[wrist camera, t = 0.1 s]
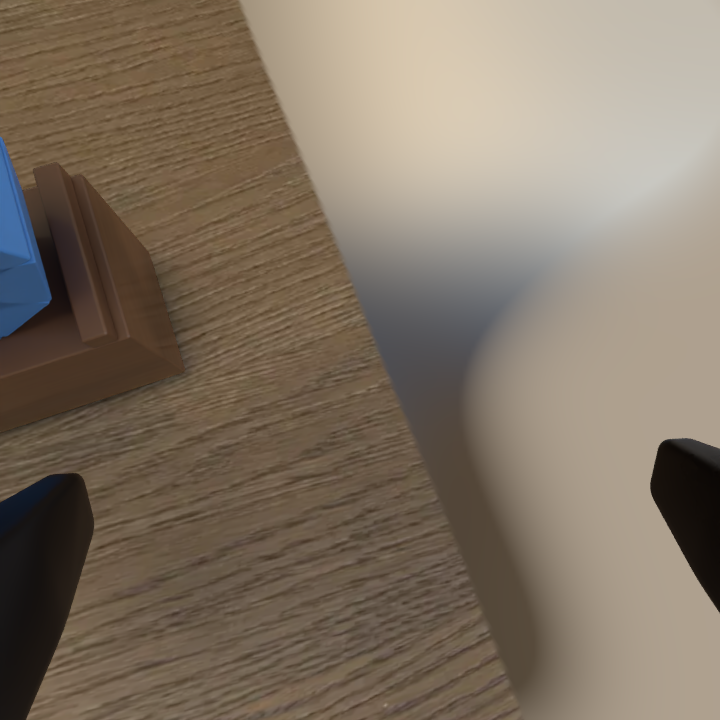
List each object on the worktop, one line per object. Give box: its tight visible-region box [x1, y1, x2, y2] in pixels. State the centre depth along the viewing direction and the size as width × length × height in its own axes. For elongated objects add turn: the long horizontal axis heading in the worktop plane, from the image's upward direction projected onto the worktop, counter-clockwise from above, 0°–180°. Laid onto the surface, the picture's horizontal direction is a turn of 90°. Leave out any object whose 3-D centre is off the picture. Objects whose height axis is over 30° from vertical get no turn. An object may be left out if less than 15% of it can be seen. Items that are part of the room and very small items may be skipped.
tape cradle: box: [0, 163, 185, 433], centre depth 17 cm, size 5×8×7 cm, turn 109°
